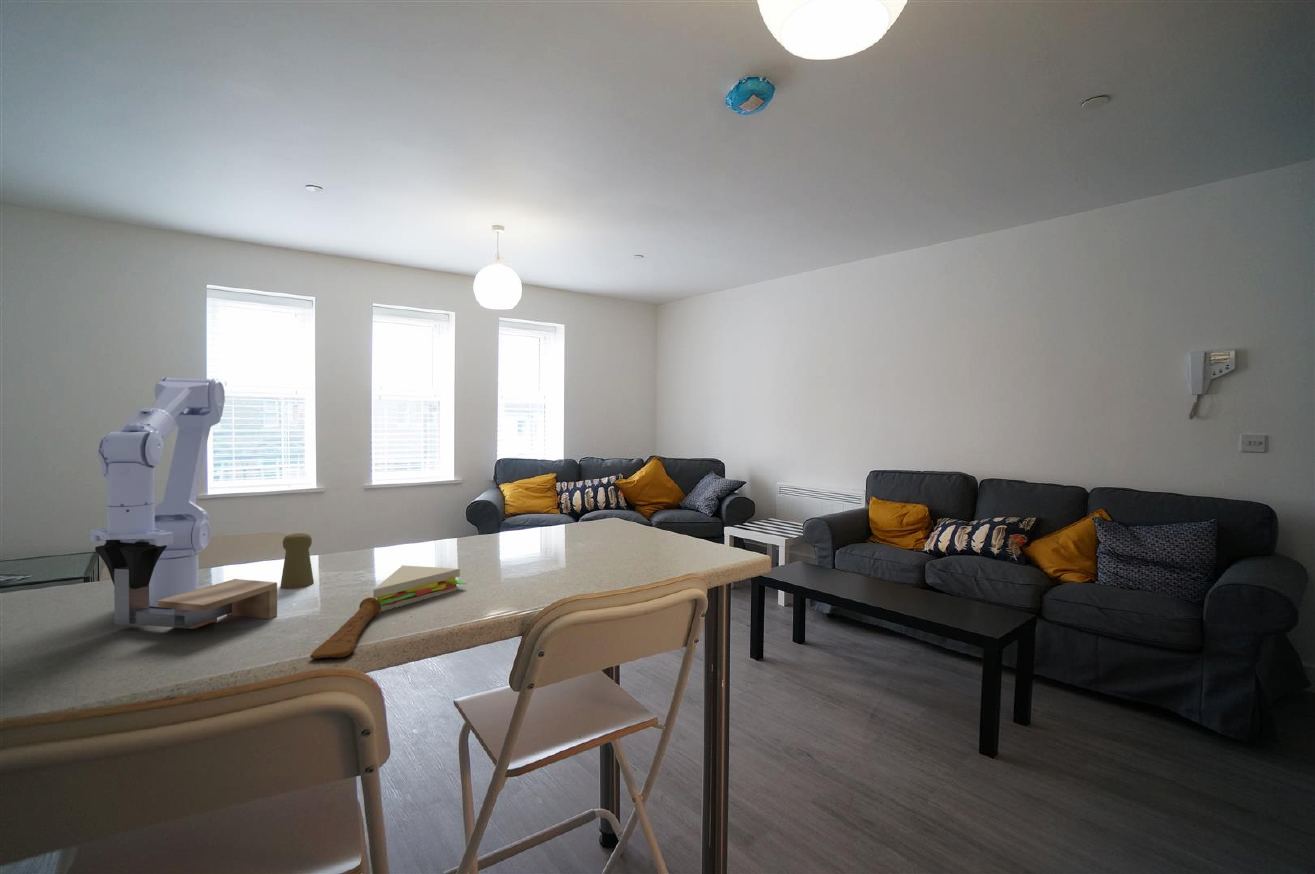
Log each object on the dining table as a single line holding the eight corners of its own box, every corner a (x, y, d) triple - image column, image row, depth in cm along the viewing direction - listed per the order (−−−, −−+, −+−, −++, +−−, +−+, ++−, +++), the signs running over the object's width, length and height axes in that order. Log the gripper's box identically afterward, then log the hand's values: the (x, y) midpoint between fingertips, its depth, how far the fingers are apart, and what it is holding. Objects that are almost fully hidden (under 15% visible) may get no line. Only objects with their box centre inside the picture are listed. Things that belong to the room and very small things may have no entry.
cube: (174, 627, 93) (173, 603, 93) (198, 619, 97) (197, 596, 97) (193, 628, 92) (193, 604, 92) (217, 620, 96) (216, 597, 96)
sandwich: (331, 609, 105) (331, 582, 105) (415, 583, 123) (415, 560, 122) (390, 622, 98) (390, 593, 98) (469, 592, 116) (470, 568, 116)
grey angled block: (114, 623, 91) (114, 568, 91) (169, 608, 100) (169, 557, 100) (181, 629, 89) (180, 572, 89) (232, 612, 97) (231, 560, 97)
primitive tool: (308, 655, 81) (311, 678, 82) (348, 652, 82) (351, 674, 82) (359, 596, 100) (362, 615, 100) (392, 594, 100) (394, 612, 101)
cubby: (157, 638, 88) (157, 600, 88) (235, 612, 101) (235, 578, 101) (203, 643, 87) (203, 605, 86) (277, 616, 99) (277, 582, 99)
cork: (290, 582, 121) (290, 531, 120) (319, 581, 121) (319, 531, 121) (273, 590, 115) (273, 536, 114) (304, 589, 115) (304, 536, 115)
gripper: (67, 505, 90) (68, 590, 90) (139, 509, 87) (139, 596, 87) (117, 500, 97) (118, 578, 97) (186, 503, 94) (186, 584, 94)
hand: (131, 586), depth 93 cm, fingers closed on grey angled block, 3 cm apart
